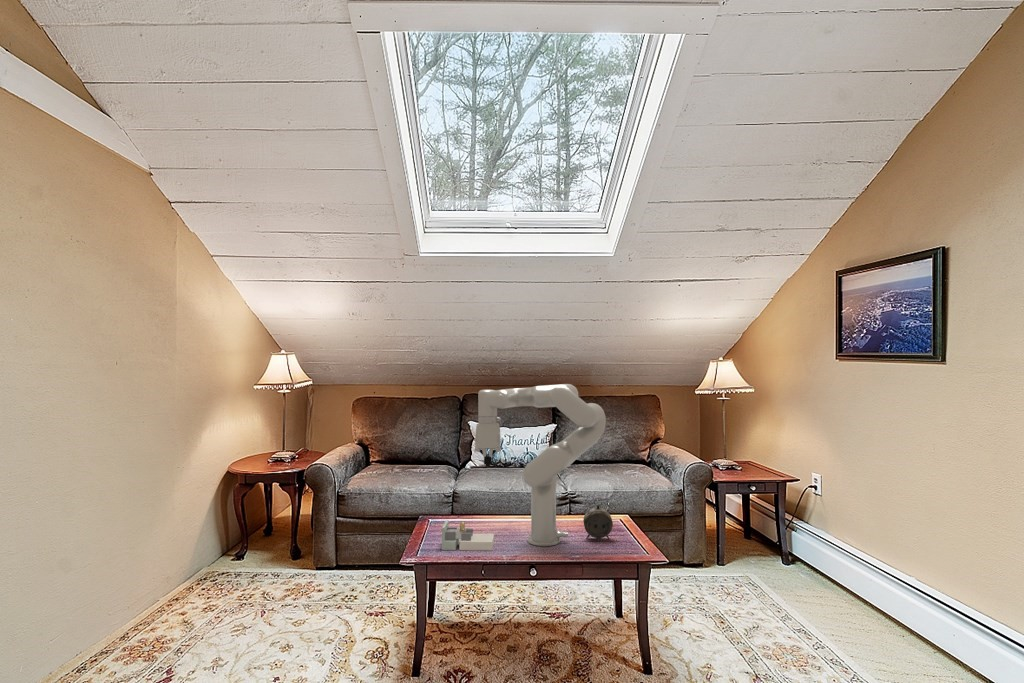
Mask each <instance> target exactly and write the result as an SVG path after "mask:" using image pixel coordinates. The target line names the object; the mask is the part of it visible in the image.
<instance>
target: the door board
mask: <svg viewBox="0 0 1024 683" xmlns="http://www.w3.org/2000/svg"><path fill="white" fill-rule="evenodd" d="M465 529H467V533H461V539H459V543H458V545H459V551H493V548H494V544H495V534H494V533H474V532H473V531H474V528H466V527H465Z"/></svg>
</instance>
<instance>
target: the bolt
mask: <svg viewBox="0 0 1024 683" xmlns="http://www.w3.org/2000/svg"><path fill="white" fill-rule="evenodd" d="M465 528H466V522H465V521H459V528H457V529H448V530H447V531H455V539H459V540H460V539H461V533H467V529H465Z"/></svg>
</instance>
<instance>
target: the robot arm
mask: <svg viewBox="0 0 1024 683" xmlns="http://www.w3.org/2000/svg"><path fill="white" fill-rule="evenodd" d="M477 394H478V396H477V397H478V399H477V400H478V403H477V404H478V407H477V408H478V410H477V412H478V418H477V419H478V421H477V422H478V423H476V425H475V426H476V427H475V433H474V434H475V437H474V446H475V447H474V452H476V453H480V454H481V455H482V457H483V464H484V465H485V468H487V467H488V468H490V467H491V465H492V464H493V460H492V459H493V458H492V456H494V454H496V453H499V452H501V451H502V447H501V445H502V444H501V442H502V440H501V437H502V436H501V427H500V423H499V422H500V421H501V417H499V416H498V409H501V410H502V409H509V408H518V407H535V408H537V409H538V408H539V409H540V408H541V409H543V408H557V409H558V410H559V411H560V412H561V413H562V414H564V415H565V416H566V417H567V418H568V419H569V420H570V421H572V422H573V423H574V424H575V425H576V426H578V427H577V428H576V429H575V430H574V431H572V432H571V433H570V434H569V435H567V437H565V438H564V439H562V440H560V441H557V442H556V443H554V444H552V445H550V446H548V447H547V448H546V449H545V450H543V451H541V453H540V454H538V455H537V456H536V457H534V458H533V459H532V460H531V461H530V462H528V463H527V464H526V466H525V467H524V468H523V472H522V477H523V481H524V482H525V484H526V485H528V486H529V487H531V490H530V493H531V494H530V496H531V497H530V519H531V521H530V522H531V526H530V527H531V528H530V529H531V530H530V531H531V532H530V533H531V534H530V535H529V536H528V537H527V538H526V540H527V542H528V544H531V545H534V546H537V547H538V546H539V547H549V546H555V545H558V544H559V543H560V542H561V538H569V532H568V531H565V530H559V529H558V527H557V480H558V474H560V473H561V472H562V471H563V470H565V469H567V468H568V467H570V466H571V465H572V464H573V463H574V462H575V461H576V460H577V459H578V458H580V457H581V456H582V455H584V454H585V453H586V452H587V451H588V450H589V449H590V448H592V447H593V446H594V445H595V444H596V443H597V442H598V441H599V440H600V438H601V437H603V436H602V435H603V434H604V431H605V429H606V422H607V417H606V414H605V411H604V409H603V408H602V406H600V405H599V404H597V403H593V402H589V403H586V401H585V400H583V398H581V397H580V396H579V390H578V389H577V387H576V386H574V385H573V384H570V383H561V384H545V385H535V386H532V387H521V388H520V387H519V388H518V387H517V388H503V389H496V390H495V389H480V390H479V391H478V393H477ZM487 450H489V452H488V453H489V454H487Z"/></svg>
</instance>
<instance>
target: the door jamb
mask: <svg viewBox="0 0 1024 683" xmlns="http://www.w3.org/2000/svg"><path fill="white" fill-rule="evenodd" d="M449 524H450V523H449V520H445V522H444V523H443V526H442V527H441V550H442V551H456V550H457V548H458V545H459V542H460V539H455V531H447V530H448V529H458V527H457V526H449Z"/></svg>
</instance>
